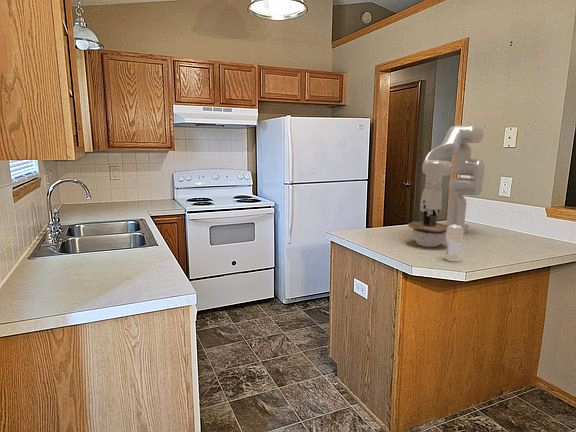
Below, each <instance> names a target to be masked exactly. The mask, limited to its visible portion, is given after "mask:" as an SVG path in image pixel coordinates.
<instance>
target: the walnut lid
mask: <svg viewBox="0 0 576 432" xmlns="http://www.w3.org/2000/svg"><path fill="white" fill-rule="evenodd" d="M429 216H430V220H429V224H424V223H423V222H424V221H411V222H409V223H408V227H409V228H411V229H413V228H414V229H418V230H423V231H432V232H445V231H446V229H447V225H446V223H445V224H444V223H440V222H437V219H436V216H433V215H432V214H429ZM445 233H446V232H445Z"/></svg>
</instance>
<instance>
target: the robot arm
mask: <svg viewBox="0 0 576 432" xmlns="http://www.w3.org/2000/svg"><path fill="white" fill-rule="evenodd" d="M484 135H485V132H484V129H483V128H482V127H481V126H476V125H454V126H453V125H452V126H451V127H450V128H448V130H447V132H446V134H445V136H444V138H443V141H442V142H441V144H440V145H438V146H436V147H435V148H433V149H432V150H430V151H429V152H428V153H427V155H426V156H425V159H424V160H423V163H422V167H421V169H422V170H421V171H422V173H423V174H425V182H424V189H423V190H422V194H421V198H420V203H419V205H420V207H419V208H420V209H419V212H421V213H422V216H423V221H422V222H423V223H424V224H429V220H430V216H429V215H430V213H431V215H433V216H436V220H438V219H437V218H438V217H437V216H438V215H439V213H440V212H441V210H442V209H443V207H442V202H443V201H442V199H443V193H442V192H443V191H442V186H443V185H442V183H443V177H448V176H450V175H451V174H452V173H454V174H455V175H458V176H467V177H453V178H451V179H450V180H449V181H448V204H447V205H448V207H447V217H446V223H445V225H460V226H463V235H464V234H466V233H467V230H466V229H467V228H469V227H470V225H469V224H465V220H466V212H467V211H466V210H467V199H466V198H465V197H464V196H475V197H476V196H480V195H481V193H482V191H483V184H484V175H485V162H484V161H483V160H482V159H478V158H471V157H472V148H471V145H469V144H479V143H481V142H482V141H483V139H484ZM453 155H454V158H453V163H452V162H451V161H448V160H441V159H445V158H447V157H451V156H453ZM469 176H471V177H472V178H470V177H469ZM445 233H446V231H445Z"/></svg>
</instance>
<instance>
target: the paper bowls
mask: <svg viewBox="0 0 576 432" xmlns="http://www.w3.org/2000/svg"><path fill="white" fill-rule="evenodd" d="M411 235H412V236H411V238H412V239H413V240H415V242H416V244H417V245H418V246H420V247H424V248H436V247H438V246H440V244H441V243H444V242H445V241H446V240H445V236H446V232H432V231H423V230H418V229H414V228H412V234H411Z"/></svg>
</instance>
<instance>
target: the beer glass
mask: <svg viewBox="0 0 576 432" xmlns="http://www.w3.org/2000/svg"><path fill="white" fill-rule="evenodd" d="M463 237H464V234H463V226H460V225H447V229H446V232H445V240H444V241H445V249H446V250H445V255H444V260H446V261H448V262H453V263H455V262H460V250H461V247H462V243H463V240H464V238H463Z"/></svg>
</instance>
